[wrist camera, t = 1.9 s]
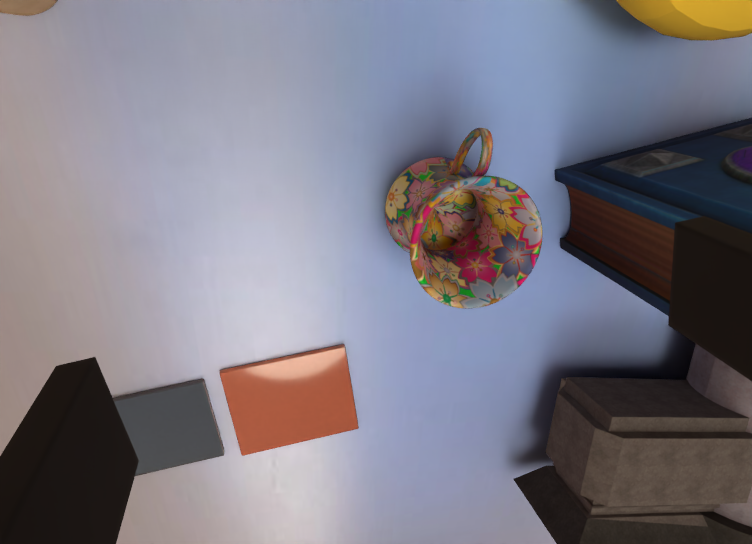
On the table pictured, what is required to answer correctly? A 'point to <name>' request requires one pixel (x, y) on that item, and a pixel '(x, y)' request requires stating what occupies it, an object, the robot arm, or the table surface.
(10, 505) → the robot arm
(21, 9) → the candle
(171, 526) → the table surface
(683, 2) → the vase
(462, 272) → the mug
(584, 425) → the machine
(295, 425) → the mug tile
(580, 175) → the book
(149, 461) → the candle tile
